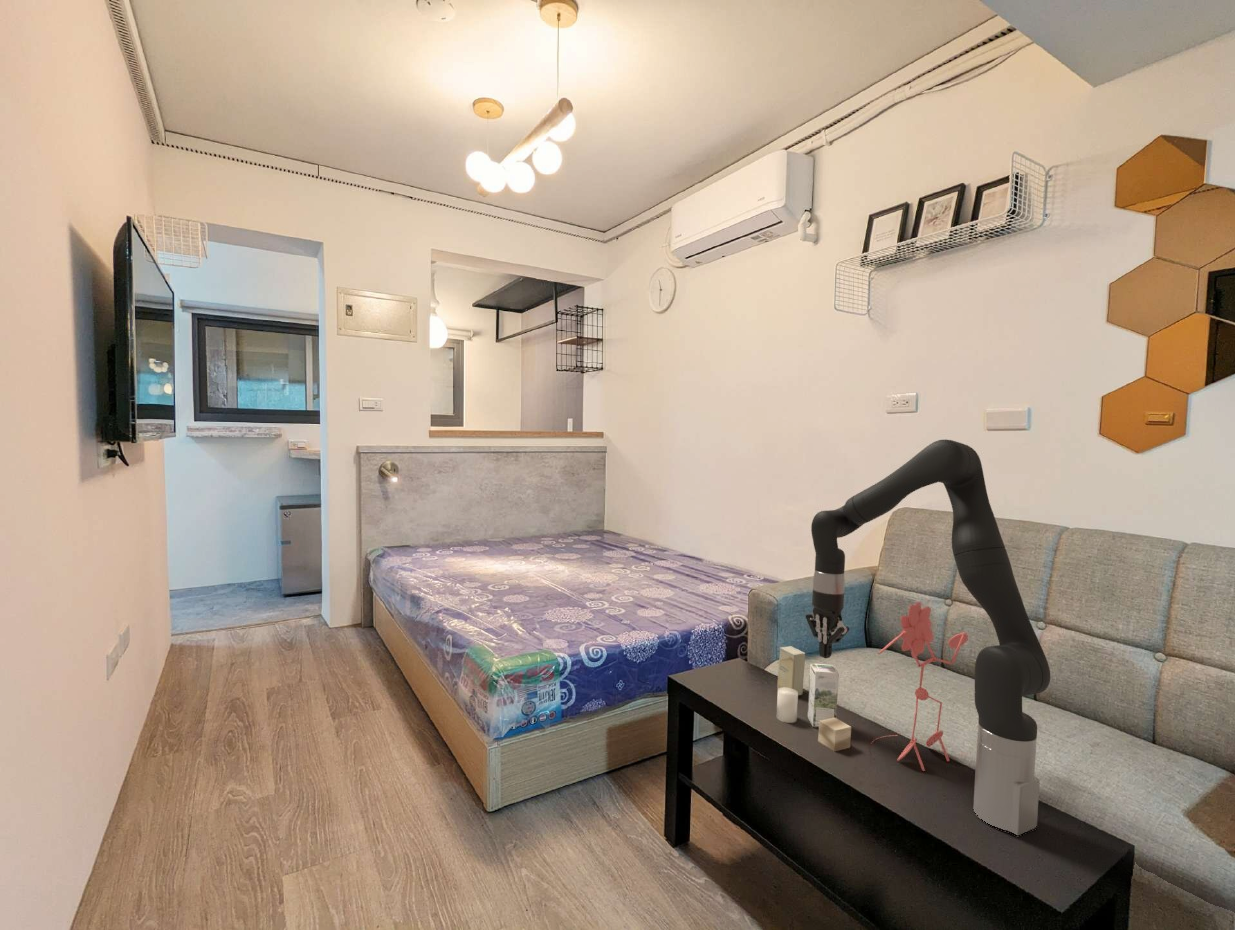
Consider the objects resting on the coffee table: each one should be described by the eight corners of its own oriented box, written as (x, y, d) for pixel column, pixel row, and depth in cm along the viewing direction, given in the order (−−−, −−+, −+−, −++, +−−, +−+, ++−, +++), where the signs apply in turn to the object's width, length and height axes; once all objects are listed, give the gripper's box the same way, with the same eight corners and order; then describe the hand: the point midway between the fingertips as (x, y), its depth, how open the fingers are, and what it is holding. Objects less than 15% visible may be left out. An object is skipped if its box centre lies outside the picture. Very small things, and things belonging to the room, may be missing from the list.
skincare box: (776, 688, 167) (778, 647, 166) (788, 686, 169) (790, 645, 168) (791, 697, 161) (793, 654, 161) (803, 695, 163) (806, 652, 163)
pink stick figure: (974, 754, 133) (979, 604, 133) (903, 782, 121) (909, 616, 120) (912, 727, 147) (916, 590, 146) (843, 749, 134) (847, 600, 134)
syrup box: (829, 719, 149) (832, 663, 148) (836, 730, 143) (839, 672, 142) (807, 717, 149) (809, 661, 149) (812, 728, 143) (815, 670, 143)
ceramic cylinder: (800, 720, 147) (802, 693, 147) (785, 724, 145) (786, 696, 145) (787, 712, 152) (788, 686, 151) (772, 715, 149) (773, 688, 149)
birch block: (850, 747, 135) (851, 726, 134) (834, 751, 132) (835, 730, 132) (833, 737, 139) (834, 717, 139) (818, 741, 137) (819, 720, 137)
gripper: (860, 594, 141) (856, 664, 141) (820, 582, 153) (816, 646, 153) (837, 596, 137) (833, 668, 138) (798, 583, 149) (795, 649, 150)
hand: (824, 656), depth 146 cm, fingers closed
